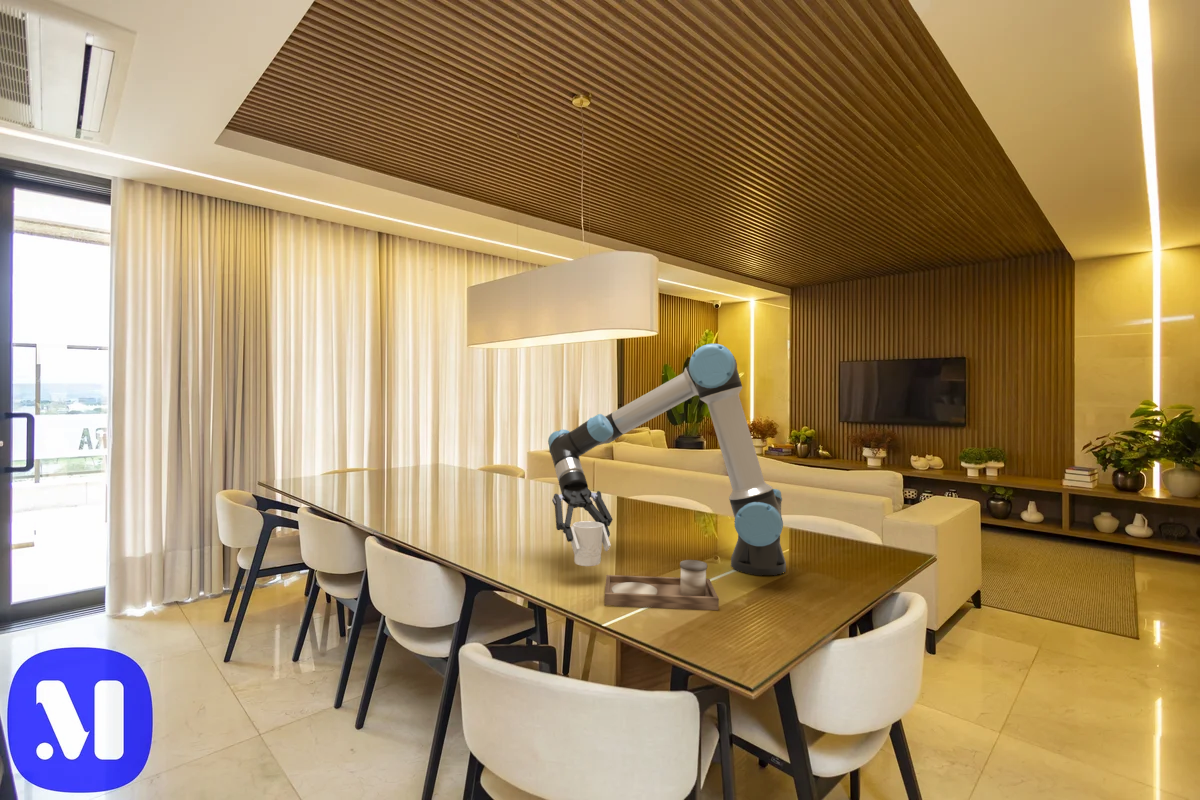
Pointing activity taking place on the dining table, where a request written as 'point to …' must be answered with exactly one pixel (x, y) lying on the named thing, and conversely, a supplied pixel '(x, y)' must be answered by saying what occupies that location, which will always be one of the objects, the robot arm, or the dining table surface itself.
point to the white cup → (588, 542)
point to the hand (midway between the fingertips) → (592, 549)
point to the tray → (664, 589)
